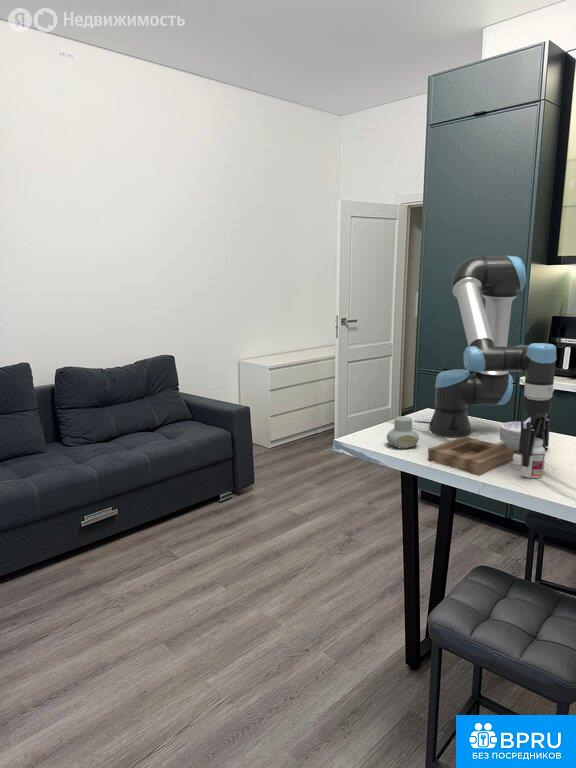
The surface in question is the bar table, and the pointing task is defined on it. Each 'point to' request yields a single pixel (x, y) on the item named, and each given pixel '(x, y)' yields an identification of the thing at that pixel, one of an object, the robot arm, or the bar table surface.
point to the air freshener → (402, 433)
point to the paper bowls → (511, 434)
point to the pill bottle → (537, 459)
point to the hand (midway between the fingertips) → (531, 473)
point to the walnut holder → (471, 455)
